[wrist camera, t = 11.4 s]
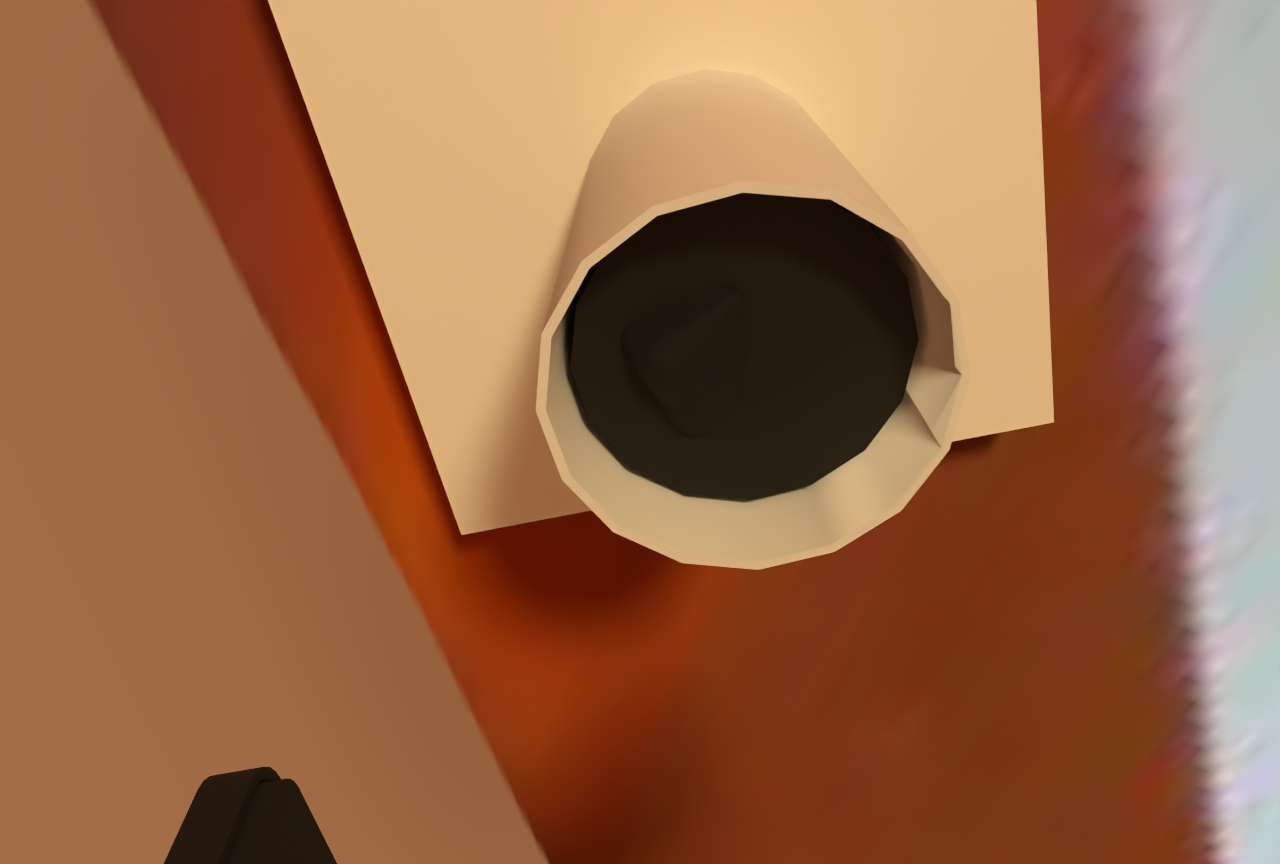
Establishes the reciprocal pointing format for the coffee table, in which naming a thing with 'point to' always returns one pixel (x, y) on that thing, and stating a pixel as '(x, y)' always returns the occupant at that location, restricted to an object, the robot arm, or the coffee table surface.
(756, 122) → the cream cup
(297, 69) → the plinth
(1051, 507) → the coffee table surface
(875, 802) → the coffee table surface
